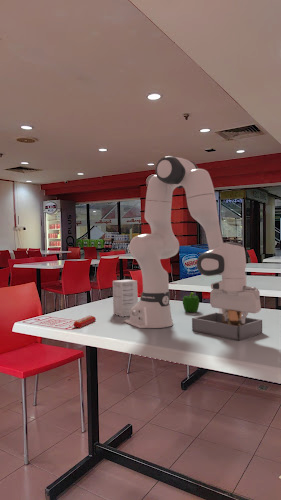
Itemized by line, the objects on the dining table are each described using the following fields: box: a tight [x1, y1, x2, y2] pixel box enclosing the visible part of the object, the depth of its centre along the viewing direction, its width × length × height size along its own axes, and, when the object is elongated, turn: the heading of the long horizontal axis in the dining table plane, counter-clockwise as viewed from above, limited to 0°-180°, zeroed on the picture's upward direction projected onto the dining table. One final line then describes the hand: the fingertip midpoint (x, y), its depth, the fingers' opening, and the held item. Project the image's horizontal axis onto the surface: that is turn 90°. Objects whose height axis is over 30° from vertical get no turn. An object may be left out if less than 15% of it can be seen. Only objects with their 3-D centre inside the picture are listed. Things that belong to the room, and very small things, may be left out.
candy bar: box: [72, 315, 97, 329], centre depth 163 cm, size 16×4×3 cm, turn 159°
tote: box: [191, 312, 263, 342], centre depth 145 cm, size 22×16×5 cm
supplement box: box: [112, 279, 139, 318], centre depth 183 cm, size 10×9×17 cm
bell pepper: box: [182, 291, 200, 313], centre depth 186 cm, size 8×8×10 cm
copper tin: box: [228, 310, 243, 326], centre depth 139 cm, size 5×5×7 cm
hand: (234, 322), depth 139 cm, fingers closed on copper tin, 5 cm apart
